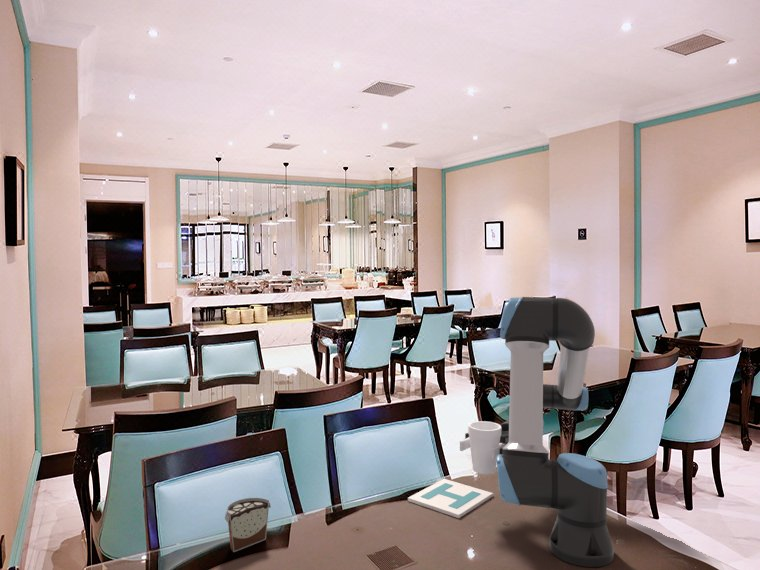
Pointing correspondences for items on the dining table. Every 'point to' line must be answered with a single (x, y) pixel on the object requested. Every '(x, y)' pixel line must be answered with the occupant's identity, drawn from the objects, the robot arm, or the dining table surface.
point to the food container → (247, 522)
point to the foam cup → (483, 445)
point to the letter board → (450, 498)
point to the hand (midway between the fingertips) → (476, 450)
